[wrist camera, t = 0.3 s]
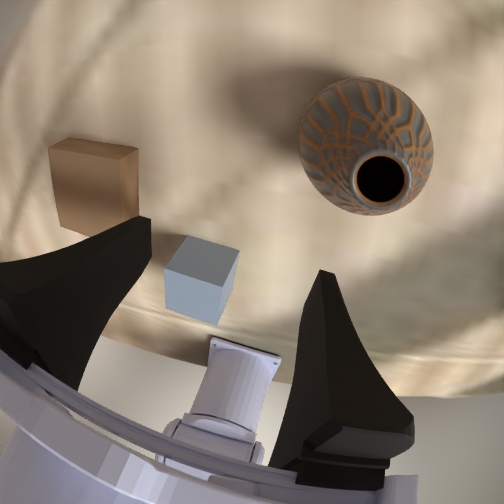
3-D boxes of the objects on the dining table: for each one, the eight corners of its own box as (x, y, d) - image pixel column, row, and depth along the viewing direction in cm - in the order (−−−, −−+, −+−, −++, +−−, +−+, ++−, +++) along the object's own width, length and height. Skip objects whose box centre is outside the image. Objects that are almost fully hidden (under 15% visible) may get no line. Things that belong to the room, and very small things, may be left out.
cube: (232, 288, 27) (216, 325, 23) (186, 274, 27) (165, 308, 24) (240, 250, 24) (222, 287, 21) (188, 234, 25) (164, 268, 21)
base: (142, 230, 26) (124, 249, 24) (78, 210, 27) (60, 226, 24) (141, 146, 21) (118, 160, 19) (71, 136, 22) (48, 148, 19)
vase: (397, 189, 18) (431, 273, 11) (298, 169, 19) (275, 243, 12) (420, 91, 14) (487, 118, 7) (309, 66, 15) (294, 65, 8)
